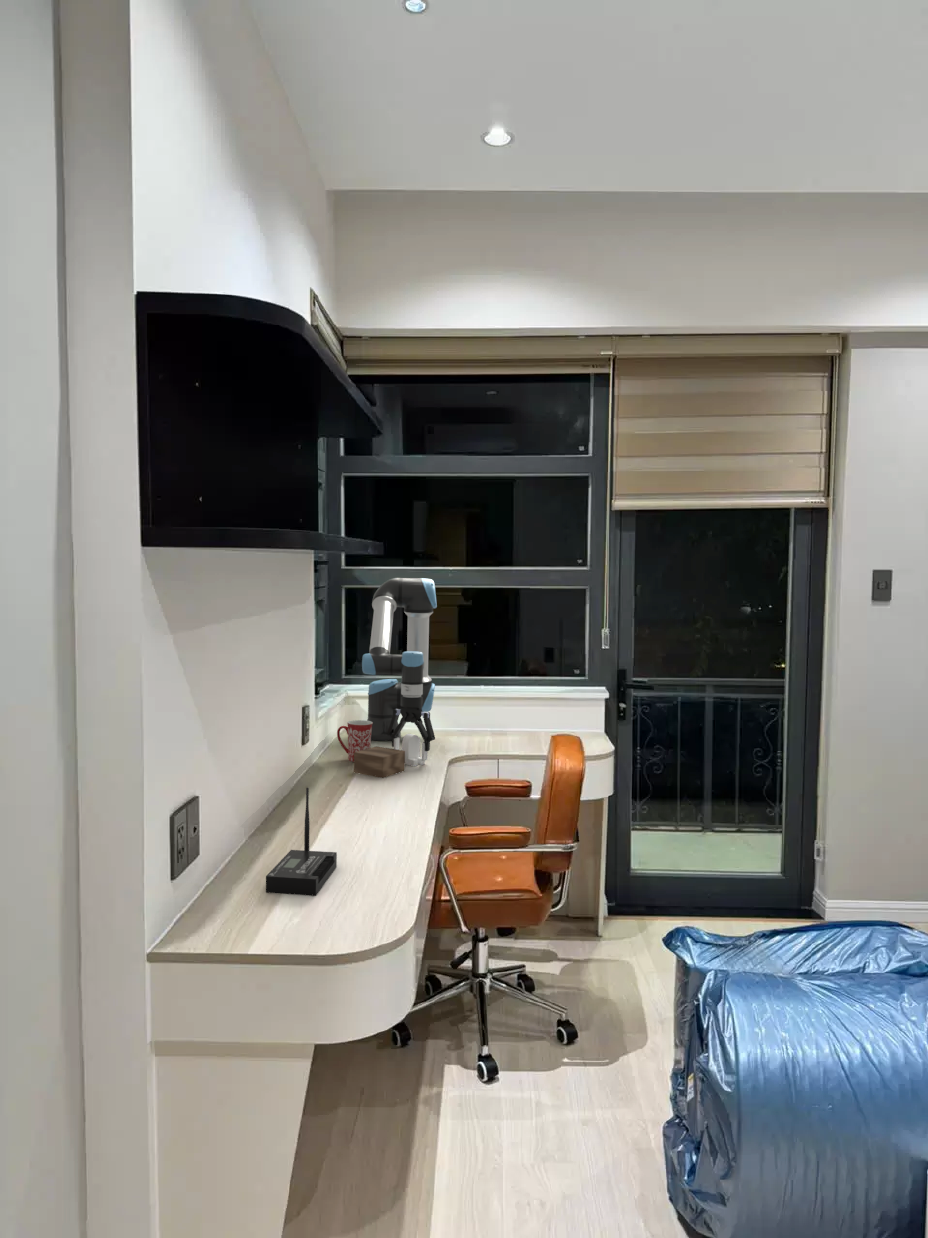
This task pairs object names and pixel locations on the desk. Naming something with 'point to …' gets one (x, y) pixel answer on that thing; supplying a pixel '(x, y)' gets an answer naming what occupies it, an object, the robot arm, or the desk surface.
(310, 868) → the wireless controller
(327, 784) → the desk surface
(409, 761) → the cable organizer
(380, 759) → the walnut block
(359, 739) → the mug
